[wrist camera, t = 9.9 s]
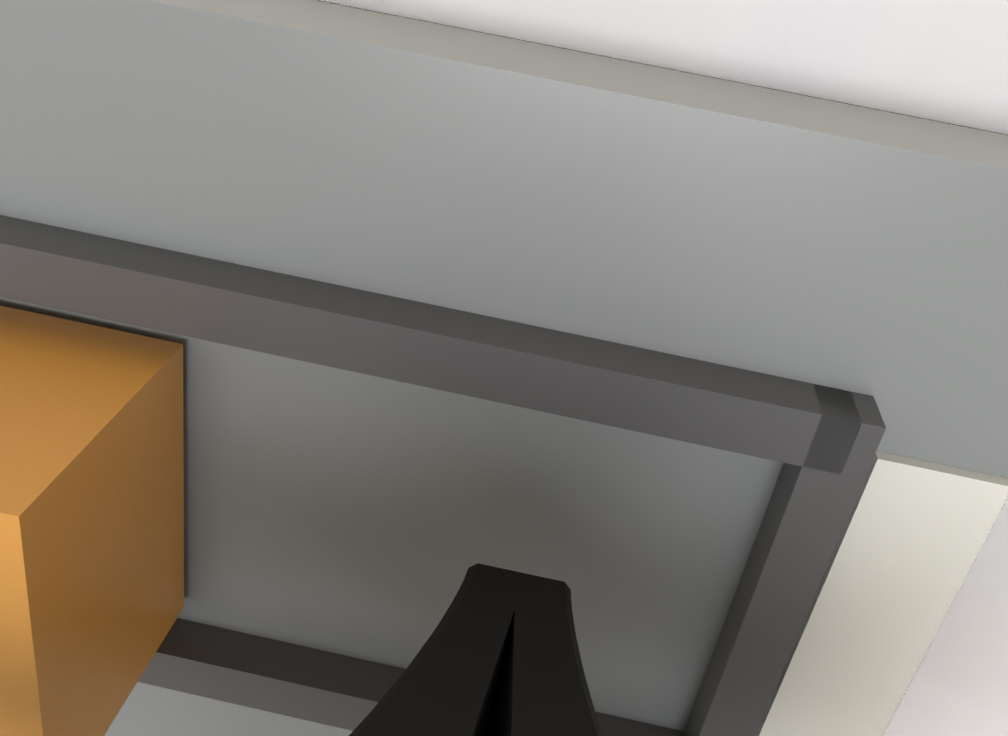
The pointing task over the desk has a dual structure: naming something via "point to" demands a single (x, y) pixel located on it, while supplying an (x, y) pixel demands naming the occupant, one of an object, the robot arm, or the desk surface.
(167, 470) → the lever
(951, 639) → the desk surface
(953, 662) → the desk surface
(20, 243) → the breaker panel
